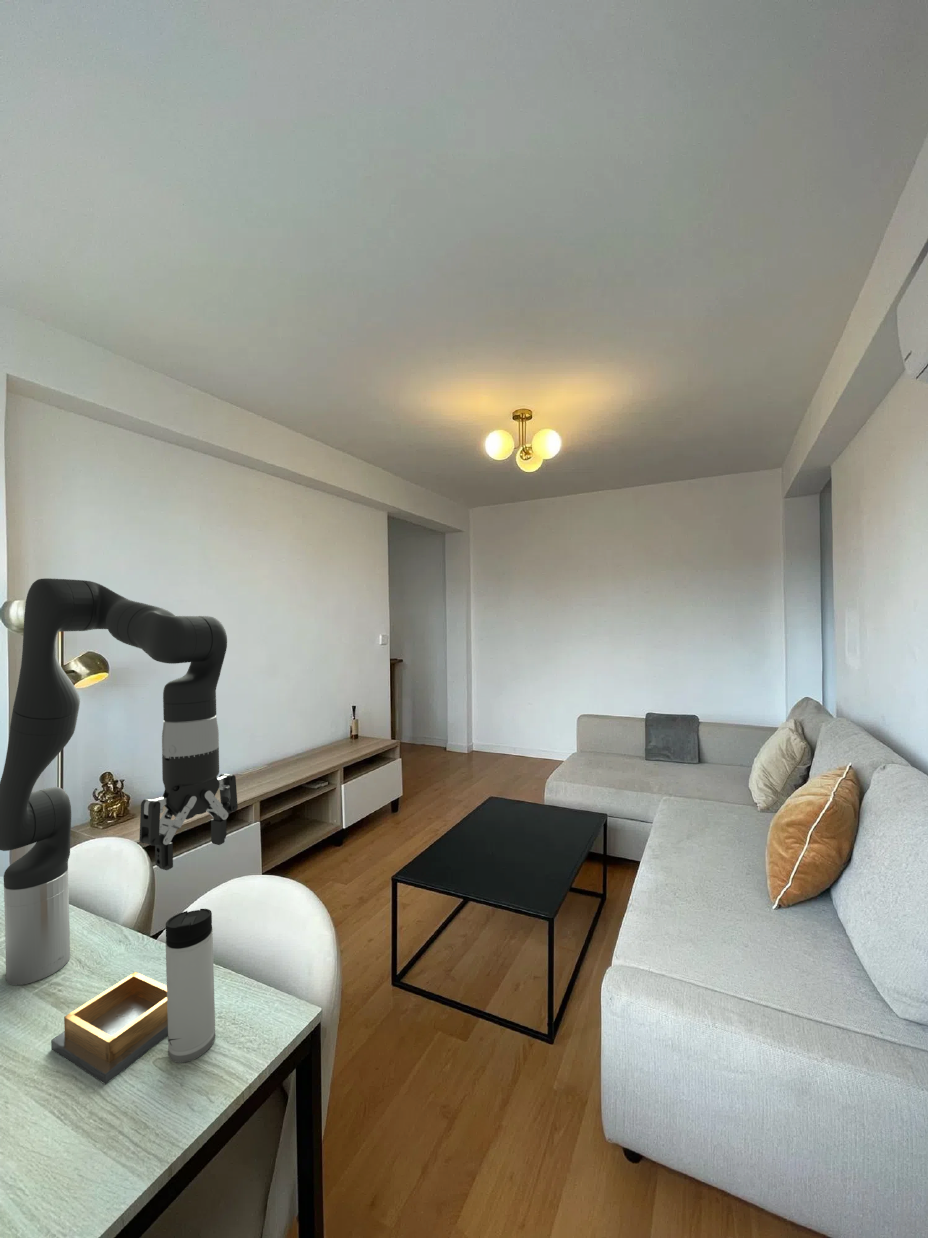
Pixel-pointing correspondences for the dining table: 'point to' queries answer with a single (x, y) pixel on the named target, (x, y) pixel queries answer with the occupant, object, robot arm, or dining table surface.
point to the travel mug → (190, 984)
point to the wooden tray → (115, 1027)
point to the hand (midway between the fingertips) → (193, 855)
